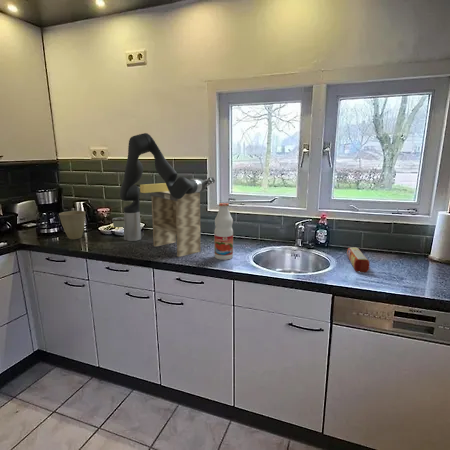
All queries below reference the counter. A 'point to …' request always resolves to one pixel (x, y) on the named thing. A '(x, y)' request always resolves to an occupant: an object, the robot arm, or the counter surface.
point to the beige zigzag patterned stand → (176, 221)
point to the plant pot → (73, 223)
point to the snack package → (358, 259)
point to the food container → (118, 222)
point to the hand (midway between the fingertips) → (207, 184)
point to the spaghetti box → (153, 188)
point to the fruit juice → (223, 233)
